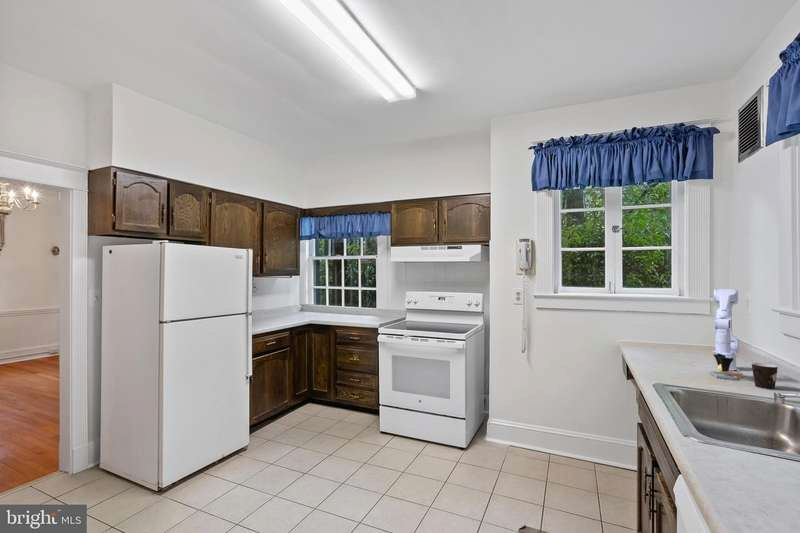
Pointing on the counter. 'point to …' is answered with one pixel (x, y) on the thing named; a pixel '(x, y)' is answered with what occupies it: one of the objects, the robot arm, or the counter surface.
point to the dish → (736, 373)
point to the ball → (721, 369)
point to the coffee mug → (764, 375)
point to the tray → (724, 375)
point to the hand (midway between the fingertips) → (723, 370)
